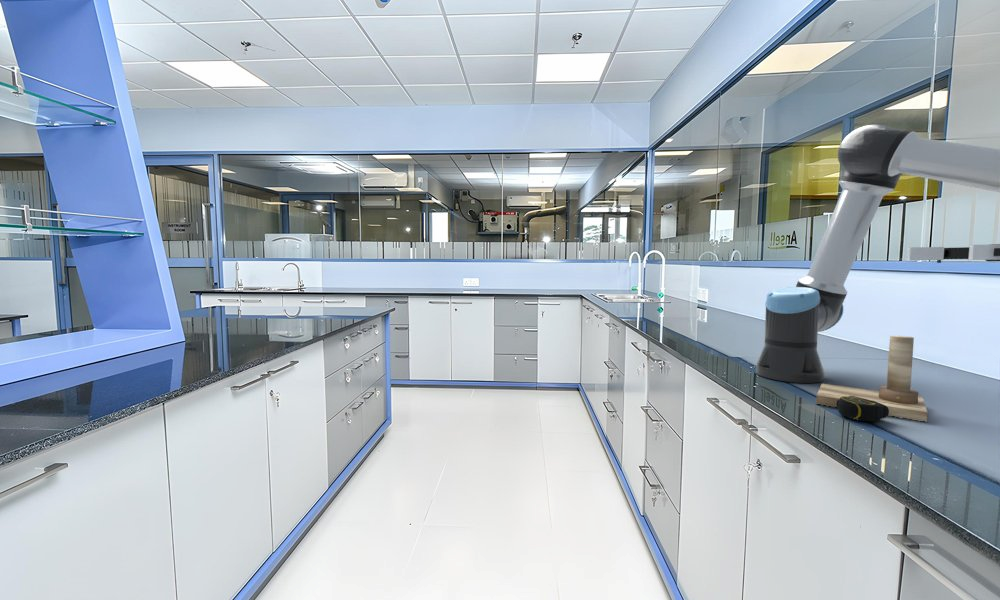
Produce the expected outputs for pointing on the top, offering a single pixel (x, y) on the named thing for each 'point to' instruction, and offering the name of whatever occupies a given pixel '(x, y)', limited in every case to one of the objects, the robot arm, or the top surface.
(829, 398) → the board
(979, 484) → the top surface
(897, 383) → the wooden peg with base
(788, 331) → the robot arm
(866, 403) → the tape measure
